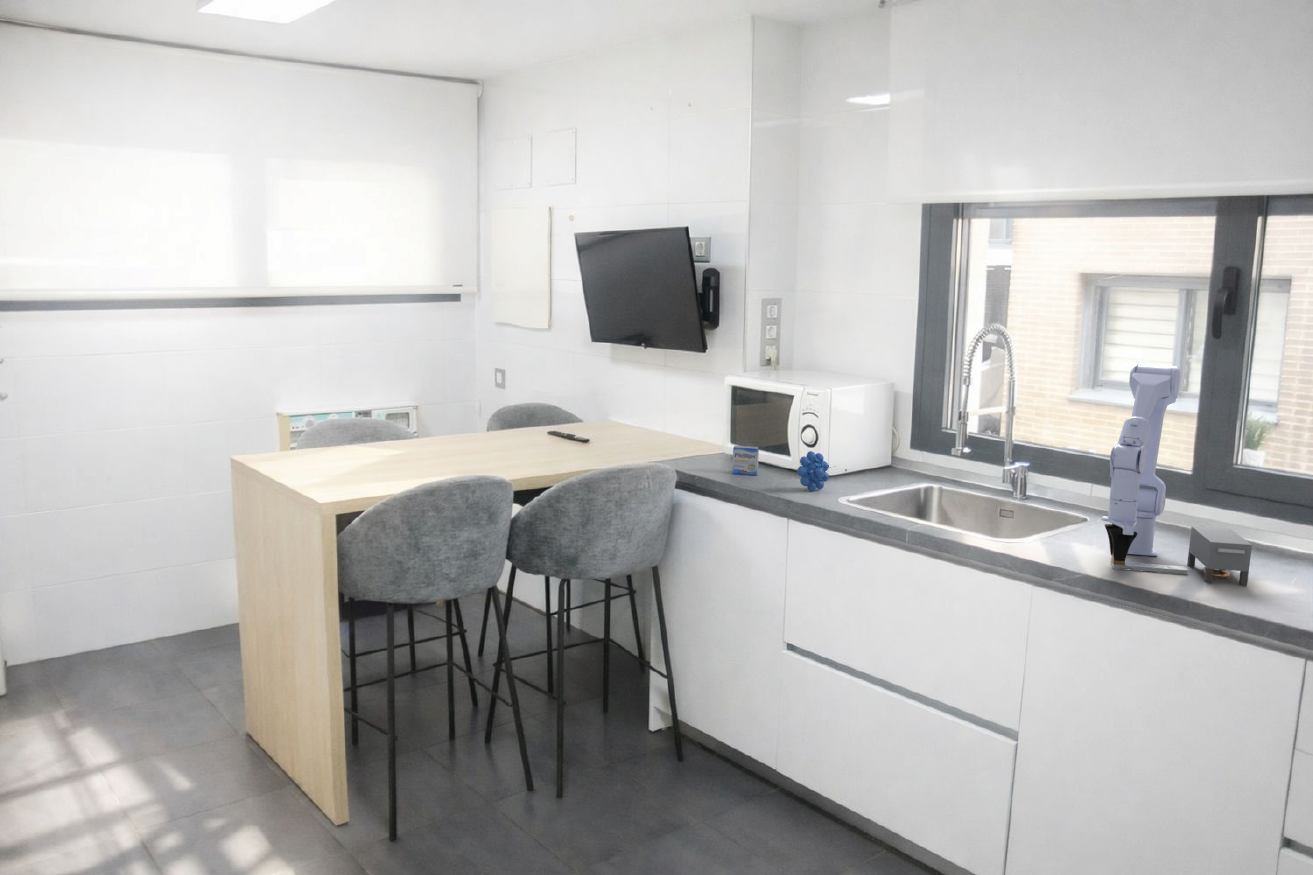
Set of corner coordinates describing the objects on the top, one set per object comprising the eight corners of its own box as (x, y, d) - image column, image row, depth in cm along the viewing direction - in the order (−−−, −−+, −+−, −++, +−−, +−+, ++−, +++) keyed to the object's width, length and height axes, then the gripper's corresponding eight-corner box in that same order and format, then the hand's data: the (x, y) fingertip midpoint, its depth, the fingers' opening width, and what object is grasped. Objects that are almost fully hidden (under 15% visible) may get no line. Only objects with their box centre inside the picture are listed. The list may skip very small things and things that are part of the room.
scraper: (1110, 565, 232) (1113, 537, 230) (1183, 570, 228) (1186, 542, 227) (1113, 568, 229) (1116, 540, 228) (1187, 574, 225) (1190, 546, 224)
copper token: (1200, 572, 229) (1200, 565, 228) (1224, 574, 228) (1225, 567, 227) (1207, 578, 224) (1208, 572, 224) (1232, 580, 223) (1233, 573, 223)
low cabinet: (1187, 564, 233) (1191, 526, 232) (1225, 567, 232) (1230, 528, 230) (1207, 583, 219) (1211, 542, 217) (1248, 587, 217) (1253, 545, 216)
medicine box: (731, 474, 323) (732, 447, 321) (733, 471, 327) (734, 444, 326) (757, 475, 322) (758, 448, 320) (758, 473, 326) (759, 446, 325)
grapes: (806, 496, 294) (808, 454, 292) (791, 491, 300) (793, 451, 298) (837, 492, 301) (839, 451, 299) (821, 487, 306) (823, 448, 304)
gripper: (1097, 491, 235) (1092, 548, 237) (1111, 504, 221) (1105, 566, 223) (1131, 493, 234) (1125, 551, 236) (1146, 507, 220) (1140, 568, 222)
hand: (1117, 558), depth 230 cm, fingers closed on scraper, 2 cm apart
